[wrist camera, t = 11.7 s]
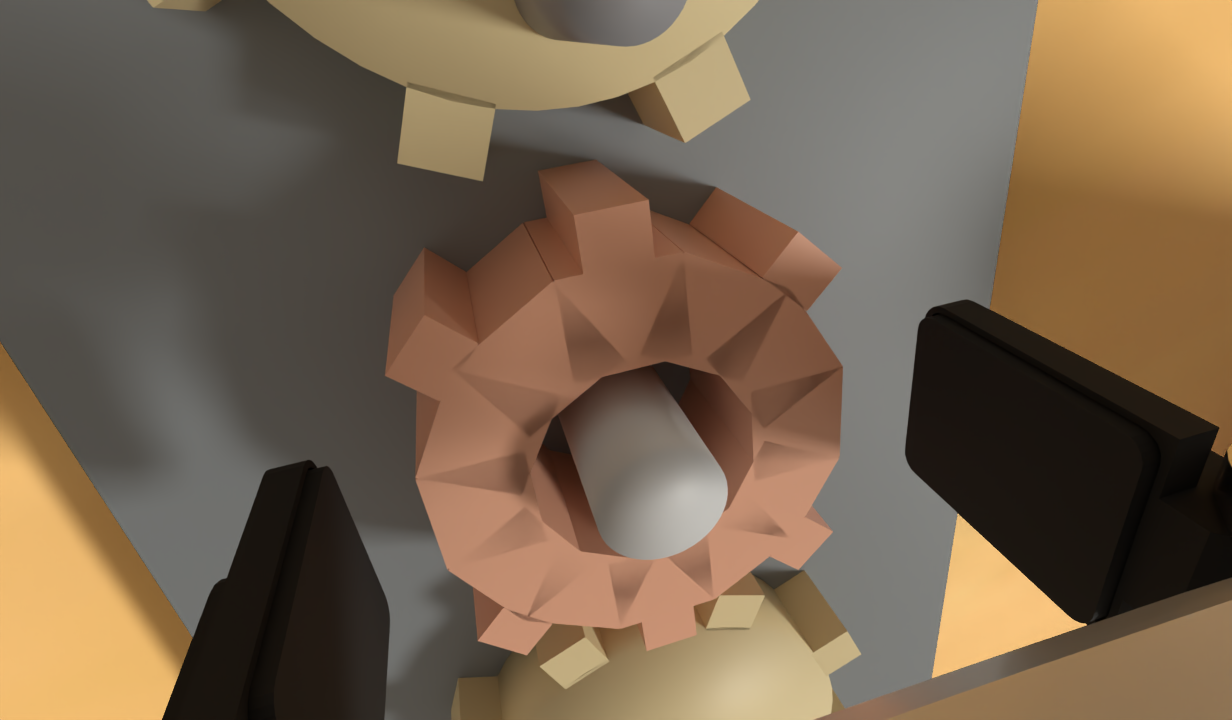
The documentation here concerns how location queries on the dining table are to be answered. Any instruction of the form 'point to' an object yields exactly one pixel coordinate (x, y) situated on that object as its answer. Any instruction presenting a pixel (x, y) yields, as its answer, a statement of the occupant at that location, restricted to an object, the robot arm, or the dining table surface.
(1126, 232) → the dining table surface
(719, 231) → the idler gear
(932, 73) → the gear board
